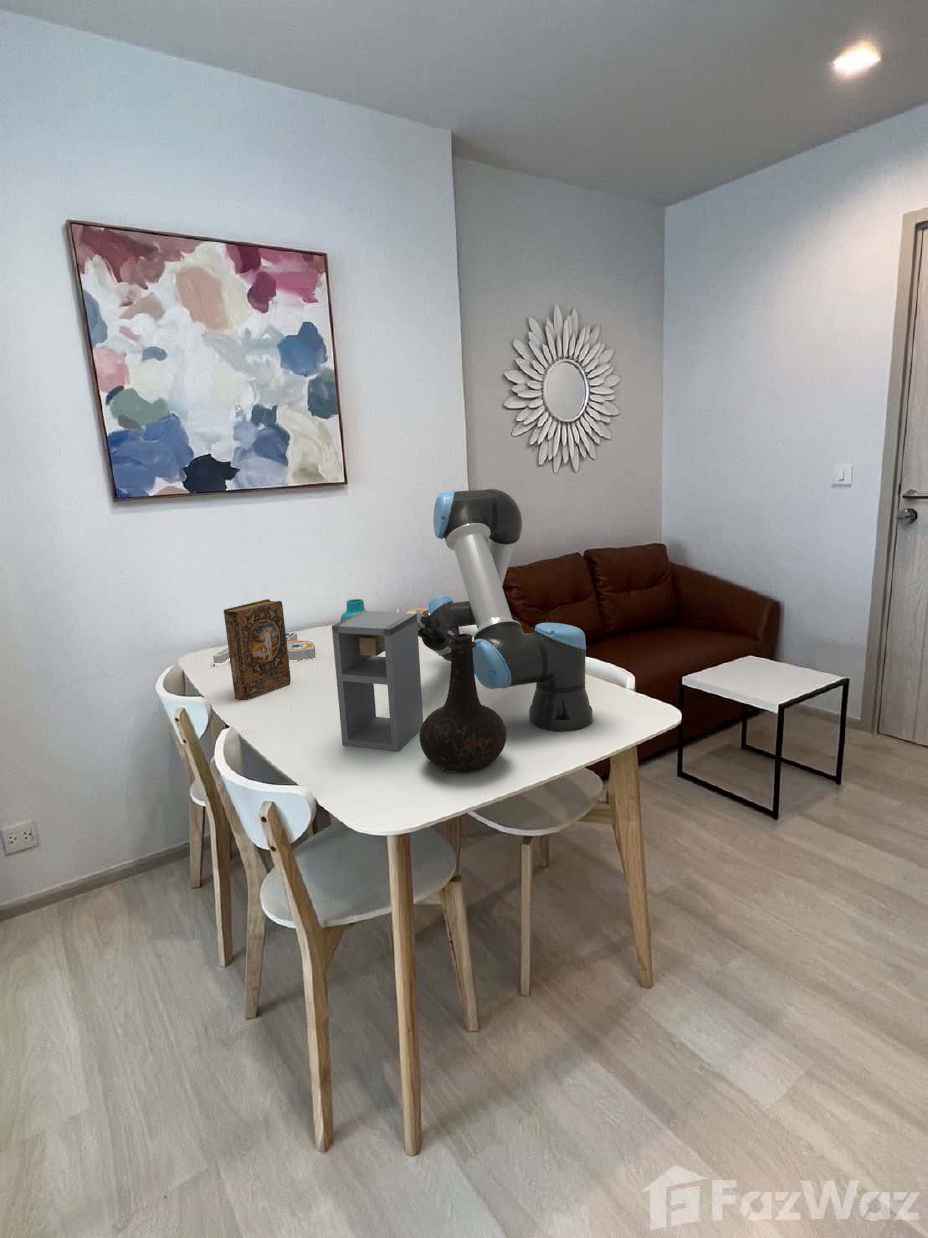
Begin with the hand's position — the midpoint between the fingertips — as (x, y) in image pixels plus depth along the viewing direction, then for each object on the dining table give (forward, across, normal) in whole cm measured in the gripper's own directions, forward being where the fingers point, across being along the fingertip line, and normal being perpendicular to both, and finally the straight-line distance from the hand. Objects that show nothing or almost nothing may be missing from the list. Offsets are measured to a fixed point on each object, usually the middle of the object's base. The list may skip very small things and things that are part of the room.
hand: (405, 614), depth 167 cm
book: (-13, +47, -21) cm, 53 cm away
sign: (-41, +65, -6) cm, 77 cm away
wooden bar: (+2, 0, -7) cm, 7 cm away
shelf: (+3, -1, -31) cm, 31 cm away
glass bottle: (+11, -24, -35) cm, 44 cm away
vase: (-43, +35, -4) cm, 56 cm away
